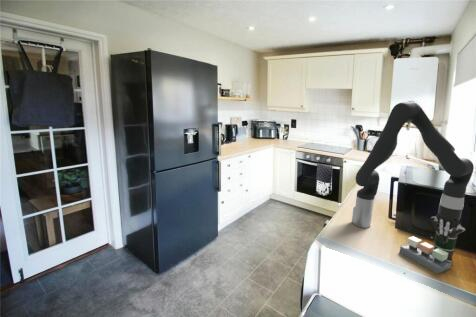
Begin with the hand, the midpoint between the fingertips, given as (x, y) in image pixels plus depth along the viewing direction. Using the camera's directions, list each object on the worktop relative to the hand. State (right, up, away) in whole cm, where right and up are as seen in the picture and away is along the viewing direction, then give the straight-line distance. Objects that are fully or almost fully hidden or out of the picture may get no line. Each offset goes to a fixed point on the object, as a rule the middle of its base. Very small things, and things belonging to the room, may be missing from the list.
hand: (442, 242), depth 111 cm
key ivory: (-5, -5, +12) cm, 14 cm away
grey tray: (-3, -11, +8) cm, 13 cm away
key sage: (0, -7, +2) cm, 8 cm away
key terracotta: (-2, -6, +7) cm, 9 cm away
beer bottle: (+9, -10, +12) cm, 18 cm away
